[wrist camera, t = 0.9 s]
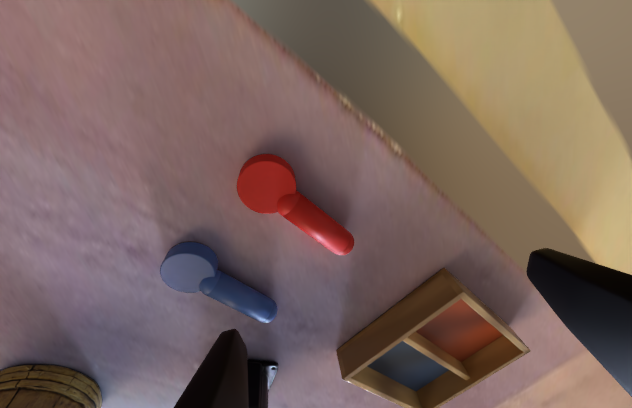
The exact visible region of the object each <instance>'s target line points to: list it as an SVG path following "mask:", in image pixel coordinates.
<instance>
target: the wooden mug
mask: <svg viewBox="0 0 632 408" xmlns="http://www.w3.org/2000/svg"><path fill="white" fill-rule="evenodd" d="M101 404H102V397H101V392H100V388H99V386H98V385H97V384H96V382H95V381H94V380H93V379H91V378H89V377H87V376H85V375H83V374H81V373H79V372H77V371H75V370H72V369H69V368H66V367H61V366H56V365H23V366H17V367H11V368H7V369H5V370H3V371H0V408H101Z"/></svg>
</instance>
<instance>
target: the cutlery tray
mask: <svg viewBox="0 0 632 408" xmlns="http://www.w3.org/2000/svg"><path fill="white" fill-rule="evenodd" d="M336 351H337V356H338V361H339V365H340V370H341V375H342V379H343V380H345V381H348V382H350V383H352V384H354V385H356V386H359V387H361V388H363V389H365V390H367V391H369V392H372V393H374V394H376V395H378V396H380V397H382V398H385V399H387V400H389V401H391V402H393V403H396V404H398V405H400V406H402V407H404V408H439V407H440V406H442V405H443V404H445V403H447V402H448V401H450V400H452V399H453V398H455V397H457V396H458V395H460V394H461V393H463V392H465V391H466V390H468V389H470V388H471V387H473V386H475V385H476V384H478V383H479V382H481V381H483V380H484V379H486V378H488V377H489V376H491V375H493V374H494V373H496V372H497V371H499V370H501V369H502V368H504V367H506V366H507V365H509V364H511V363H512V362H514V361H515V360H517V359H519V358H520V357H522V356H524V355H525V354H527V353H529V352H530V350H529V348H528V347H527V346H526V345H525V344H524V343H523V341H522V340H521V339H520V338H519V337H518V336H517V335H516V333H515V332H514V331H513V330H512V329H511V328H510V327H509V326H508V325H507V324H506V323H505V322H504V321H503V320H502V319H501V318H499V317H498V316H497V315H496V314H495V313H494V312H493V311H492V310H491V309H490V308H488V307H487V306H486V305H485V304H484V303H483V302H482V301H481V300H480V299H478V298H477V297H476V296H475V295H474V294H473V293H472V292H471V291H470V290H469V289H467V288H466V287H465V286H464V285H463V284H462V283H461V282H460V281H459V280H457V279H456V278H455V277H454V276H453V275H452V274H451V273H450V272H449V271H448V270H446V269H445V268H443V269H441V270H440V271H439V272H438V273H436V274H435V275H434V276H432V277H431V278H430V279H428V280H427V281H426V282H425V283H423V284H422V285H421V286H419V287H418V288H417V289H415V290H414V291H413V292H412V293H410V294H409V295H408V296H406V297H405V298H404V299H402V300H401V301H400V302H399V303H397V304H396V305H395V306H393V307H392V308H391V309H389V310H388V311H387V312H385V313H384V314H383V315H382V316H380V317H379V318H378V319H376V320H375V321H374V322H372V323H371V324H370V325H369V326H367V327H366V328H365V329H363V330H362V331H361V332H359V333H358V334H357V335H356V336H354V337H353V338H352V339H350V340H349V341H348V342H346V343H345V344H344V345H343V346H341V347H340V348H339V349H337V350H336Z"/></svg>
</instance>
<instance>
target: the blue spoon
mask: <svg viewBox="0 0 632 408" xmlns="http://www.w3.org/2000/svg"><path fill="white" fill-rule="evenodd" d="M217 268H218V259H217V256H216V254H215V253H214V252H213V251H212V250H211V249H210V248H209V247H207V246H205V245H203V244H200V243H196V242H184V243H180V244H178V245H176V246H174V247H173V248H171V249H170V250H169V252H168V253H167V255H166V257H165V259H164V261H163V263H162V265H161V268H160V274H161V277H162V279H163V281H164V282H165V283H166V284H167V285H168V286H169V287H171V288H173V289H175V290H177V291H180V292H186V293H194V292H199V291H201V292H202V293H203V294H205V295H207V296H209V297H211V298H213V299H215V300H217V301H219V302H221V303H223V304H225V305H227V306H229V307H231V308H233V309H235V310H237V311H239V312H241V313H243V314H245V315H247V316H249V317H251V318H253V319H255V320H257V321H259V322H262V323H268V322H270V321H272V320H273V319H274V318H275V317H276V315H277V311H278V308H277V304H276V303H275V301H274V300H272V299H271V298H269V297H267V296H265V295H263V294H261V293H260V292H258V291H256V290H254V289H252V288H251V287H249V286H247V285H245V284H243V283H241V282H240V281H238V280H236V279H234V278H232V277H230V276H229V275H227V274H225V273H223V272H221V271H219V270H217Z"/></svg>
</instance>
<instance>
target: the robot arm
mask: <svg viewBox="0 0 632 408" xmlns="http://www.w3.org/2000/svg"><path fill="white" fill-rule="evenodd" d="M527 276H528V278H529V280H530V281H531V282H532V284H533V285H534V286H535V287H536V289H537V290H538V291H539V293H540V294H541V295H542V296H543V298H544V299H545V300H546V302H547V303H548V304H549V305H550V307H551V308H552V309H553V311H554V312H555V313H556V314H557V316H558V317H559V318H560V319H561V321H562V322H563V323H564V324H565V325H566V327H567V328H568V329H569V330H570V331H571V332H572V333H573V334H574V335H575V337H576V338H577V339H578V340H579V341H580V342H581V343H582V344H583V345H584V346H585V347H586V348H587V349H588V350H589V352H590V353H591V354H592V355H593V356H594V357H595V358H596V359H597V360H598V361H599V362H600V363H601V364H602V365H603V367H604V368H605V369H606V370H607V371H608V372H609V373H610V374H611V375H612V376H613V377H614V378H615V379H616V381H617V382H618V383H619V384H620V385H621V386H622V387H623V388H624V389H625V390H626V391H627V392H628V393H629V394H630V396H631V397H632V275H630V274H627V273H623V272H620V271H617V270H614V269H611V268H608V267H605V266H602V265H599V264H595V263H592V262H589V261H586V260H583V259H580V258H577V257H574V256H570V255H567V254H564V253H561V252H558V251H555V250H552V249H548V248H543V249H539V250H536V251H533V252H531V254H530V257H529V262H528V267H527ZM277 370H278V363H277V362H273V361H260V360H248V359H247V349H246V345H245V343H244V341H243V340H242V338H241V336H240V334H239V332H238V331H237V330H236V329H231V330H227V331H224V332H222V333H221V334H220V335H219V337H218V339H217V340H216V342H215V343H214V345H213V346H212V348H211V350H210V351H209V353H208V354H207V356H206V357H205V359H204V361H203V362H202V364H201V365H200V367H199V368H198V370H197V372H196V373H195V375H194V376H193V378H192V380H191V381H190V383H189V384H188V386H187V387H186V389H185V391H184V392H183V394H182V395H181V397H180V398H179V400H178V402H177V403H176V405H175V406H174V408H268V391H269V389H270V386H271V384H272V382H273V380H274V377H275V375H276V373H277Z"/></svg>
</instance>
